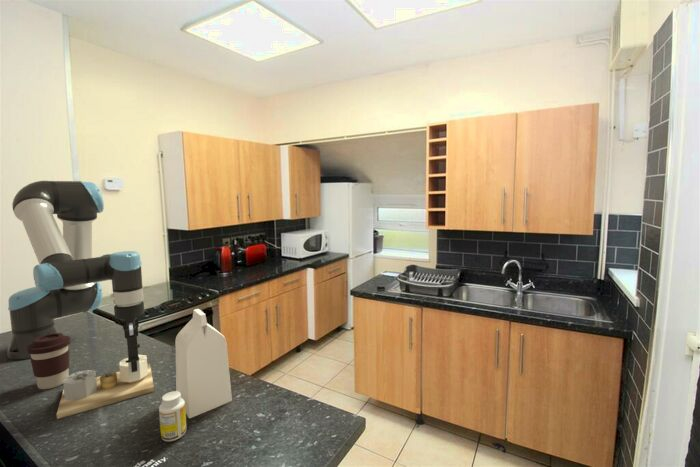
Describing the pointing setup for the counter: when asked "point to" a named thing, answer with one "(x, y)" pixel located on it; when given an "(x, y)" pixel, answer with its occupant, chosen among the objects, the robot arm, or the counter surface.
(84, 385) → the seated gear
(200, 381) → the milk
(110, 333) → the counter surface
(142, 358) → the white octagonal block
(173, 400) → the supplement bottle
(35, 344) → the coffee cup
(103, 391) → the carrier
